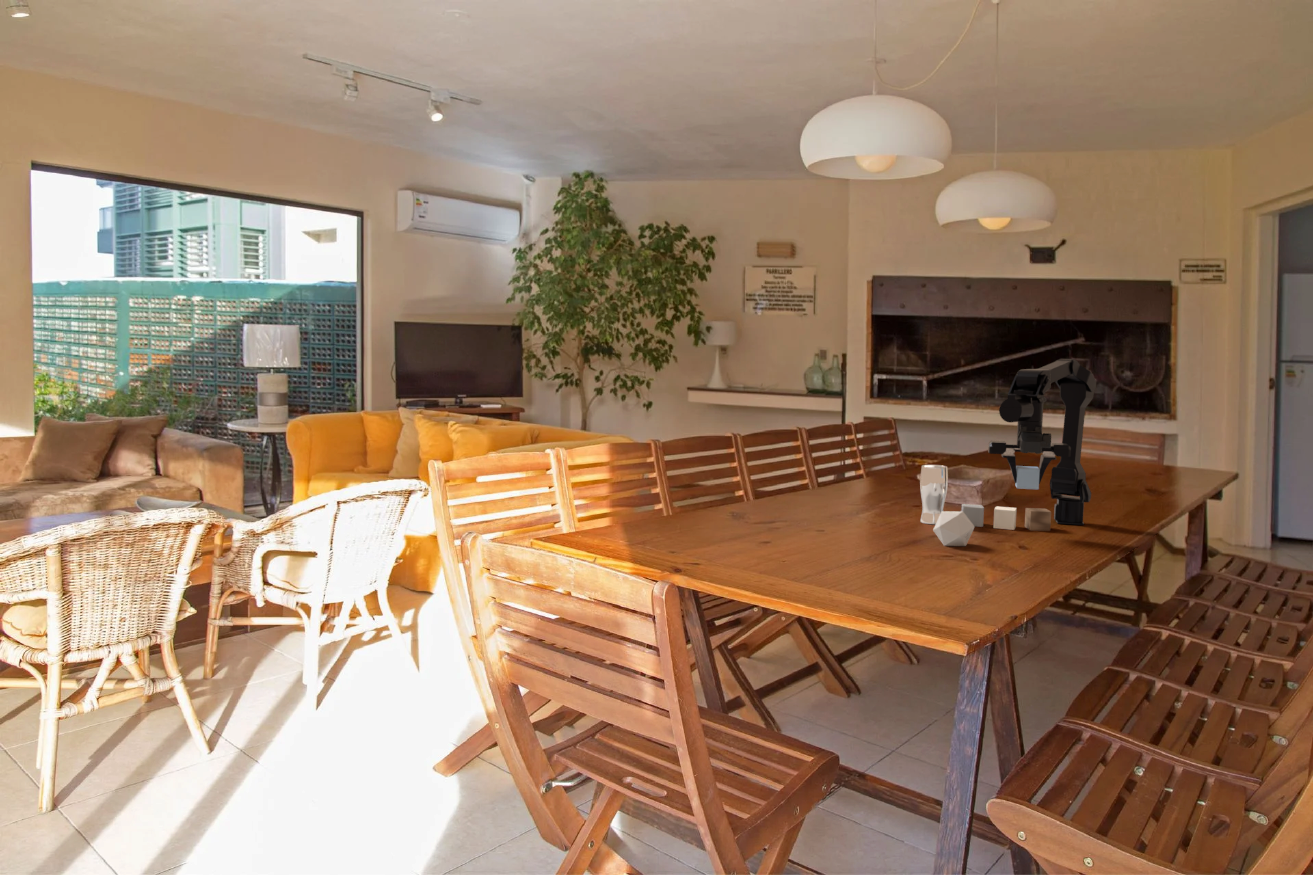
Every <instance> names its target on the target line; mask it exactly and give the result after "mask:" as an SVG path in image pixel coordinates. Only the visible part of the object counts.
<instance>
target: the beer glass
mask: <svg viewBox="0 0 1313 875" xmlns="http://www.w3.org/2000/svg"><path fill="white" fill-rule="evenodd" d="M948 472H949V470H948V466H946V465H941V464H923V465H921V470H920V478H919V479H920V480H919V485H920V486H919V487H920V489H919V490H920V497H921V503H922V504H921V505H922V509H921V510H922V511H921V516H920V521H919V522H920V523H922V524H926V525H934V526H935V525H936V523H937V520H938V518H939V516H940V514H941V512H942V511H944V506H945V501H946V497H947V493H948V485H949V484H948V483H949V482H948V480H949V479H948V478H949V473H948Z"/></svg>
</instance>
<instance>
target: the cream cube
mask: <svg viewBox="0 0 1313 875" xmlns="http://www.w3.org/2000/svg"><path fill="white" fill-rule="evenodd" d="M1016 524H1017V507H1009V506H998V505H997V506H995V507H994V510H993V529H1000V530H1001V529H1002V530H1011V531H1012V530H1013V531H1014V530H1015V529H1016Z"/></svg>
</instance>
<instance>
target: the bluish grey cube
mask: <svg viewBox="0 0 1313 875" xmlns="http://www.w3.org/2000/svg"><path fill="white" fill-rule="evenodd" d="M1016 473H1017V482H1016V483H1015V482H1014V483H1015V484H1014V485H1015V487H1016V489H1021V490H1023V489H1025V490H1040V484H1039V473H1040V469H1039V466H1029V465H1028V466H1025V465H1024V466H1023V465H1016Z"/></svg>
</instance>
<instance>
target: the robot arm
mask: <svg viewBox="0 0 1313 875" xmlns="http://www.w3.org/2000/svg"><path fill="white" fill-rule="evenodd" d="M1053 383H1055V384H1056V386H1057V387H1058V389H1059V397H1060V399H1061V401H1062V403H1063V404H1064V407H1065V408H1064V409H1065V410H1064V419H1063V427H1062V428H1063V431H1062V440H1061V442H1052V433H1049V432H1048V433H1047V432H1046V433H1045V432H1044V433H1043V419H1044V418H1043V417H1044V403H1045V402H1047V400H1048V399H1047V398H1046V397H1045V396H1044V395H1045V394H1046V392H1048V391H1049V390H1050V389H1051V387H1052V386H1051V385H1052V384H1053ZM1096 389H1097V381H1096V379H1095V377H1094V375H1093V373H1092V372H1091V371H1090V370H1089V369H1087V368H1086V367H1084V366H1082V365H1081V364H1080V362H1079V360H1076V359H1075V358H1059V359H1057V360H1055V361H1053V362H1051V363H1048V364H1046V365H1044V366H1042V367H1041V366H1040V367H1039V368H1026V369H1024V368H1022V369H1020V370H1017V372H1016V374H1015V375H1014V378H1013V380H1012V382H1011V385H1010V388H1009V390H1008V393H1007V398H1006V399H1004V401H1002V403H1001V404H1000V406H999V408H998V412H999V413H998V414H999V416H1000V418H1001V419H1002V420H1003V421H1005V423H1006V422H1007V423H1017V427H1016V428H1017V429H1016V431H1017V432H1016V444H1009V443H1007V442H1006V441H1005V440H990V441H989V442H988V444H987V445H988V446H987V452H988V454H990V455H992V454H993V455H1001V457H1002V458H1005V459H1006V460H1007V463H1008V464H1009V467H1010V471H1011V475H1012V477H1013V481H1014V483H1016V482H1017V473H1016V466H1017V463H1016V455H1015V453H1021V454H1028V453H1031V454H1037V455H1039V454H1040V460H1039V466H1038V468H1039V469H1040V473H1039V485H1040V484H1041V481H1042V479H1043V476H1044V474H1045V472H1046V471H1047V470H1046V469H1047V467H1049V464H1050V463H1051V461H1054V460H1057V457H1060V460H1059V462H1058V463H1057V465H1056V466H1053V467H1052V469H1051V476H1050V481H1049V490H1050V491H1049V492H1050V498H1051V499H1053V500H1054V499H1056V503H1054V510H1053V511H1054V512H1053V514H1054V515H1053V519H1054V521H1055V522H1056V524H1060V525H1061V524H1062V525H1063V524H1064V525H1074V526H1075V525H1077V526H1079V525H1080V526H1084V525H1085V523H1084V511H1085V509H1084V508H1085V503H1090V501H1091V498H1092V492H1091V489H1090V487H1089V484H1088V482H1087V481H1086V480H1087V478H1086V477H1087V475H1086V474H1087V473H1086V471H1085V470H1084V468H1083V465H1082V463H1081V456H1082V446H1083V436H1084V425H1085V416H1086V415H1085V414H1086V408H1087V407H1088V405H1089V404H1090V403H1091V402H1092V401H1093V399H1094V393H1095V391H1096Z"/></svg>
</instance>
